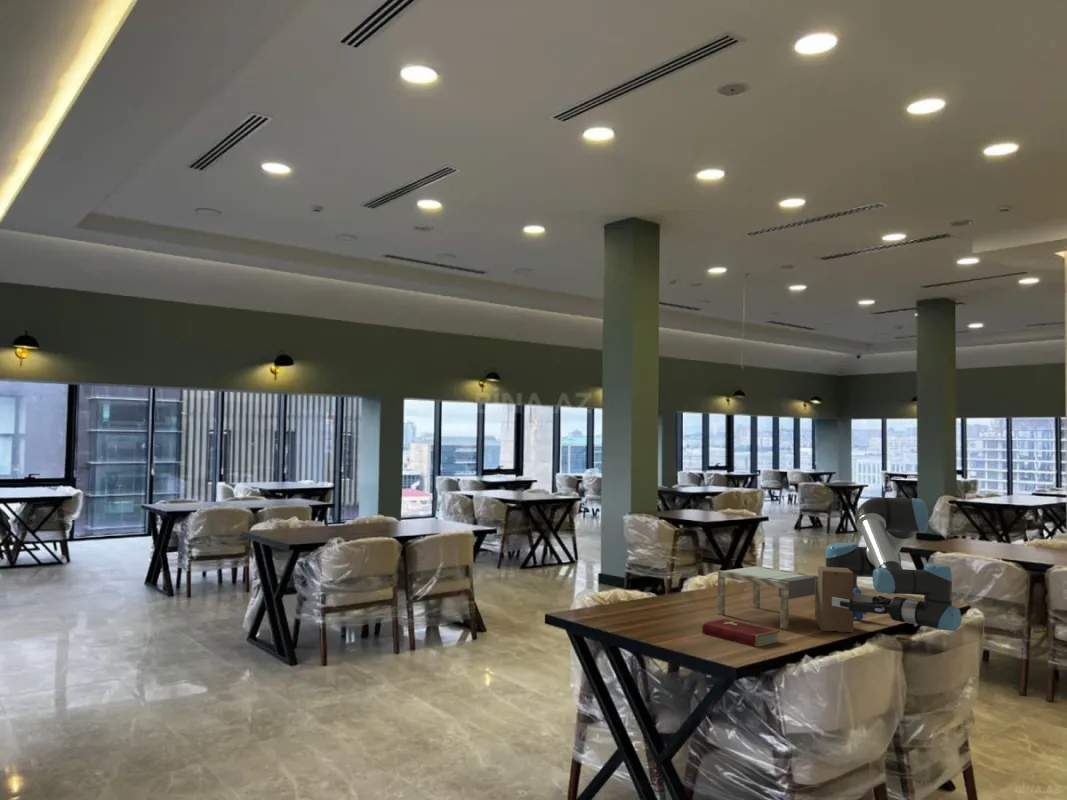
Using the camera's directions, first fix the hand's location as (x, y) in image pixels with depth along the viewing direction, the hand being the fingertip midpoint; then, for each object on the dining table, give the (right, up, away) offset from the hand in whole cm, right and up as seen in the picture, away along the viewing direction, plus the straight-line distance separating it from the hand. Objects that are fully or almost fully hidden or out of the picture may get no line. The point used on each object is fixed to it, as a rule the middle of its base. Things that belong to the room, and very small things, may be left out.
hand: (843, 598), depth 271 cm
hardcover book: (-38, -10, -13) cm, 41 cm away
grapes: (+10, -12, +19) cm, 24 cm away
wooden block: (-2, -11, +3) cm, 11 cm away
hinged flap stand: (-19, -11, +18) cm, 29 cm away
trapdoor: (-19, -2, +18) cm, 27 cm away
